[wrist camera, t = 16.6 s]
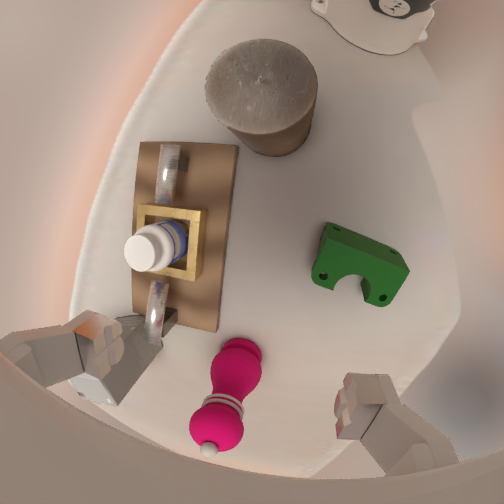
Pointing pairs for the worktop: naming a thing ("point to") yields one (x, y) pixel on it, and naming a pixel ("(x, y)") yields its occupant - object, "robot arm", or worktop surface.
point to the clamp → (359, 264)
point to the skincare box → (120, 366)
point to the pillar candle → (264, 95)
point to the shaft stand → (200, 232)
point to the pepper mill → (226, 397)
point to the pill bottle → (157, 245)
